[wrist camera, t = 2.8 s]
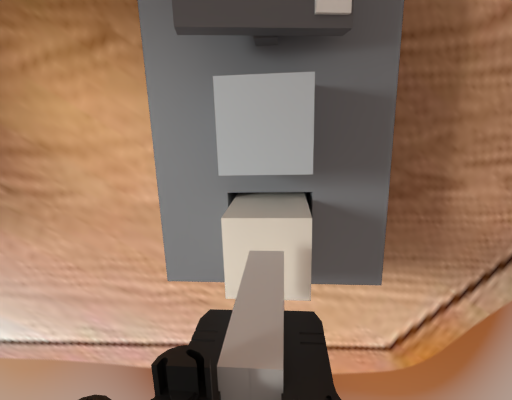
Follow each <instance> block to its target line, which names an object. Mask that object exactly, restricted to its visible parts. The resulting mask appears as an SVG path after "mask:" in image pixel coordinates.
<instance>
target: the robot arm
mask: <svg viewBox="0 0 512 400" xmlns="http://www.w3.org/2000/svg"><path fill="white" fill-rule="evenodd" d="M151 366H152V374H153V382H154V390H155V397H154V398H153V399H151V400H341V399H340V397H339V396H338V394H337V393H336V390H335V387H334V384H333V378H332V373H331V368H330V362H329V357H328V352H327V347H326V341H325V336H324V331H323V326H322V321H321V320H320V319H319V318H318V316H317V315H316V314H315V313H314V312H310V311H284V251H249V255H248V258H247V262H246V265H245V269H244V272H243V276H242V279H241V283H240V286H239V290H238V293H237V297H236V300H235V304H234V308H233V310H211V309H210V310H209V311H208V312H207V313H206V314H205V315H204V316H203V317H202V318H200V320H199V323H198V325H197V327H196V331H195V332H194V334H193V336H192V339H191V341H190V343H189V345H185V346H178V347H175V348H172V349H169V350H167V351H166V352H164V353H163V354H161V355H160V356H158V357H157V359H156V360H155V361H154V362H153V363H152V365H151ZM79 400H111V399H110V398H108V397H107V396H102V395H92V396H87V397H83V398H81V399H79Z"/></svg>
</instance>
